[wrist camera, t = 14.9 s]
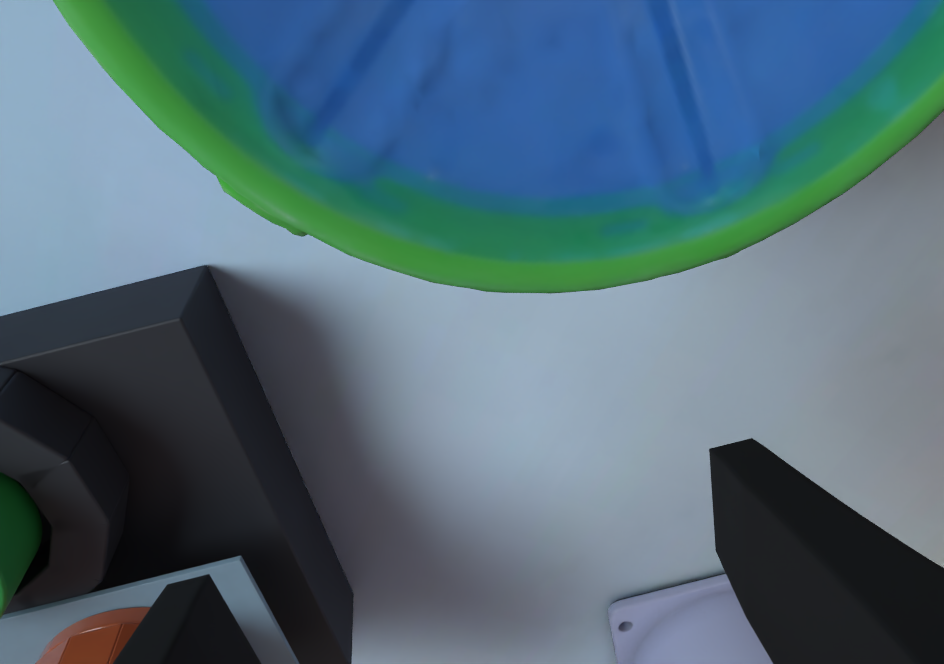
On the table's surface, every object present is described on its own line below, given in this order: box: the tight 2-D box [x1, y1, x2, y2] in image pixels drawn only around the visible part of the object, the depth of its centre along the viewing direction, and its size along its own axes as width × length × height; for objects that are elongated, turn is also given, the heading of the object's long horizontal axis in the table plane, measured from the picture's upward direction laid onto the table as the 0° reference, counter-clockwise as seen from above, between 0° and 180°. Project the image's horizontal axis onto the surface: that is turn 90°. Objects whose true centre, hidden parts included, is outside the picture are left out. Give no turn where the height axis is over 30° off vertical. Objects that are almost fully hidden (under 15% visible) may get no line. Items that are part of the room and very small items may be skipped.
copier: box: [0, 265, 353, 664], centre depth 19 cm, size 13×10×4 cm
